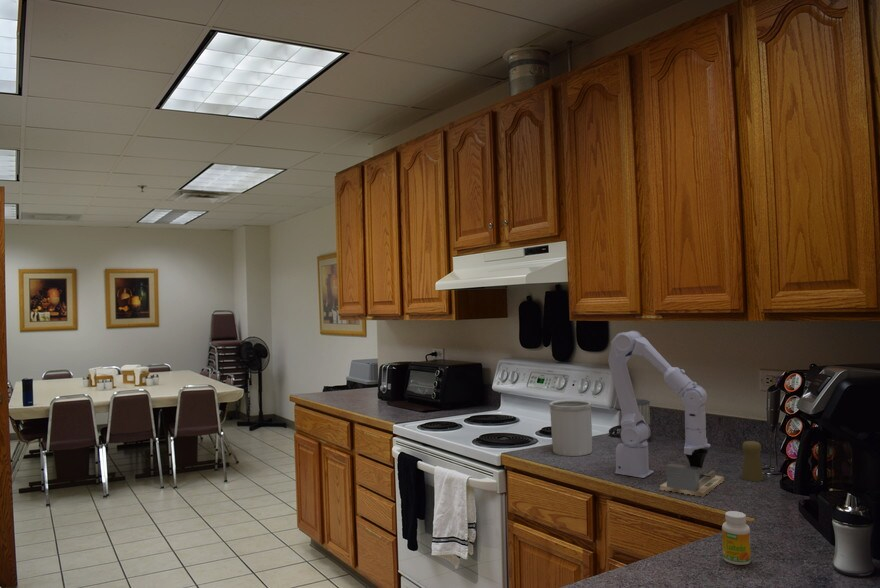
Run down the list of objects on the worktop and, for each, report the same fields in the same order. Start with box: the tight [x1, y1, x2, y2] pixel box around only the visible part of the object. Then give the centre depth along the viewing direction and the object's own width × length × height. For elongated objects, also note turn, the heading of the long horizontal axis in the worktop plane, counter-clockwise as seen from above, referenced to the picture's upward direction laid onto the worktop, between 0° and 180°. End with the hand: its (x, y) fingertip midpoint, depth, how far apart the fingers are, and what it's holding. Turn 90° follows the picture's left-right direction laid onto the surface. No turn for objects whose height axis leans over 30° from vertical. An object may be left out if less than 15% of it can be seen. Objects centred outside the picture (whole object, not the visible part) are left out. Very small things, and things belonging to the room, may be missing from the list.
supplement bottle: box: [721, 510, 752, 566], centre depth 138 cm, size 5×5×10 cm
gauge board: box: [659, 470, 725, 498], centre depth 191 cm, size 12×19×3 cm, turn 140°
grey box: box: [665, 463, 699, 492], centre depth 184 cm, size 8×3×6 cm, turn 50°
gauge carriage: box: [692, 466, 711, 480], centre depth 190 cm, size 8×5×4 cm, turn 50°
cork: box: [741, 440, 765, 482], centre depth 196 cm, size 6×6×11 cm
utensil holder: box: [548, 398, 593, 457], centre depth 234 cm, size 15×15×18 cm
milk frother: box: [608, 398, 652, 443], centre depth 252 cm, size 14×16×15 cm
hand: (696, 474), depth 193 cm, fingers closed
